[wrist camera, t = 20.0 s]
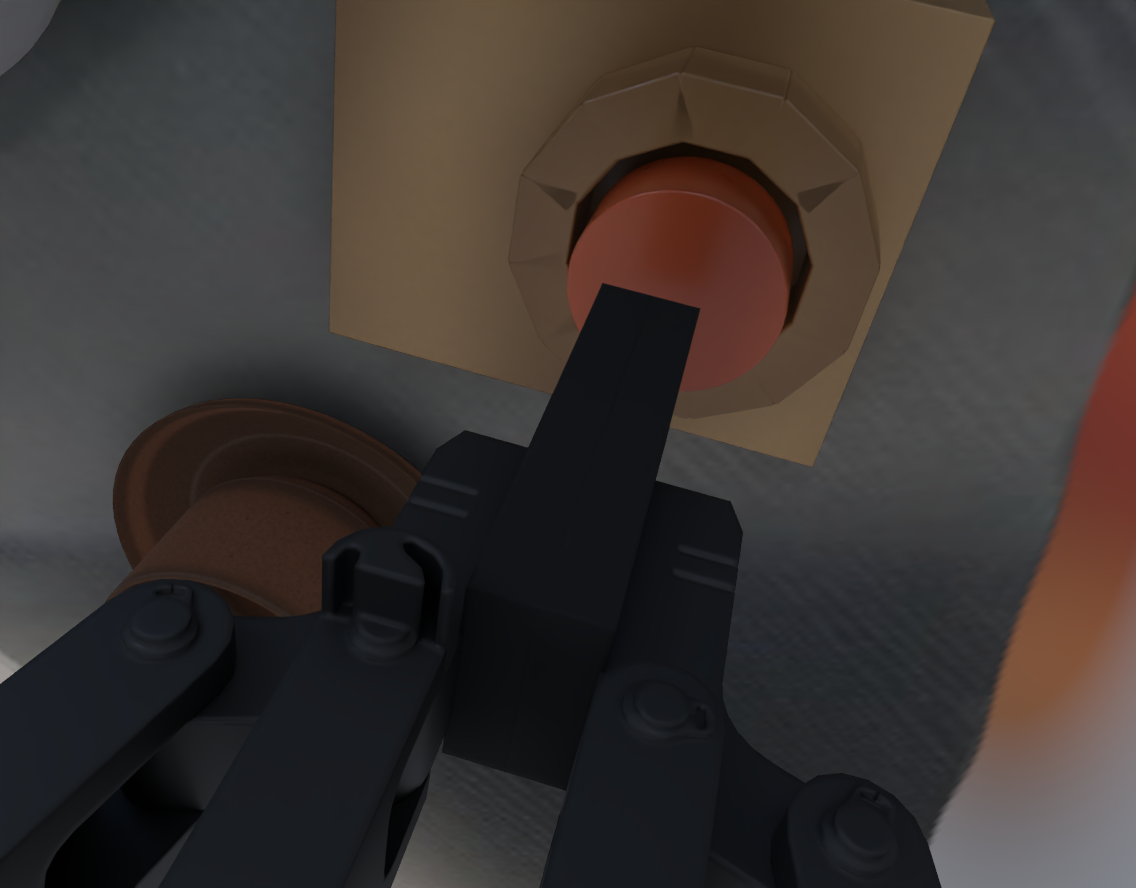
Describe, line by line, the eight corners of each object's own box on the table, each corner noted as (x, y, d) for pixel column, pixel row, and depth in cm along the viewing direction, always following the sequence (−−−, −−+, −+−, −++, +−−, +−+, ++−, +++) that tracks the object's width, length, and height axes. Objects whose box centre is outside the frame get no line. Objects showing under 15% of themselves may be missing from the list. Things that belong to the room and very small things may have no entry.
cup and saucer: (425, 715, 35) (355, 871, 31) (121, 556, 34) (-2, 691, 30) (570, 504, 28) (509, 664, 23) (190, 294, 27) (42, 416, 22)
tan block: (364, 292, 26) (294, 370, 23) (383, -146, 20) (292, -123, 17) (816, 416, 25) (810, 516, 21) (984, -7, 19) (1008, 45, 15)
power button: (571, 319, 20) (550, 360, 19) (607, 131, 18) (586, 164, 17) (759, 369, 20) (751, 416, 19) (822, 186, 18) (818, 223, 16)
